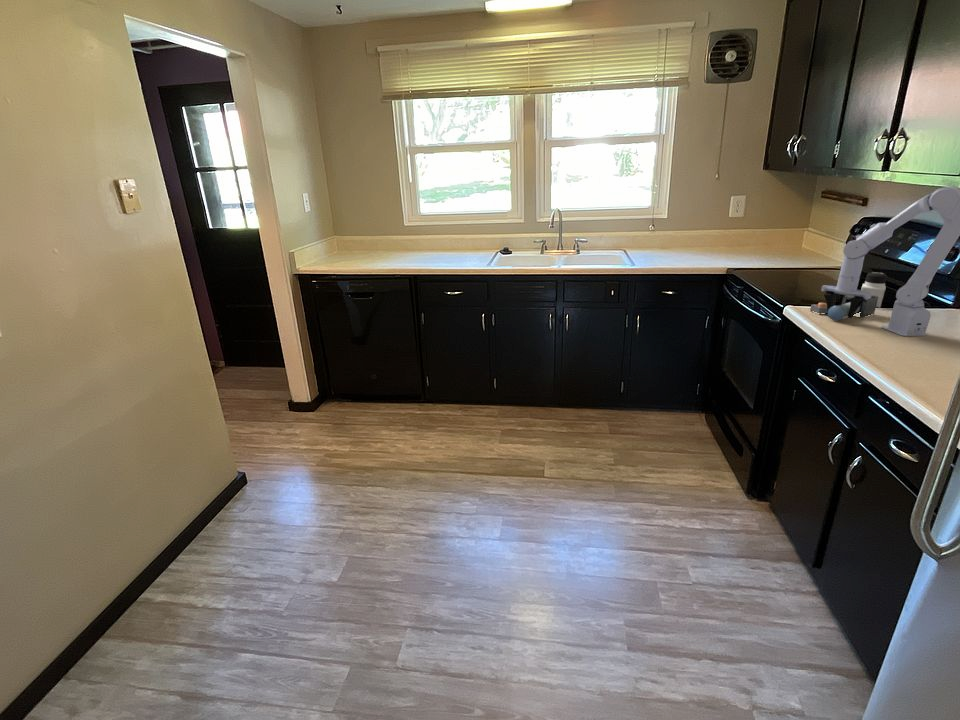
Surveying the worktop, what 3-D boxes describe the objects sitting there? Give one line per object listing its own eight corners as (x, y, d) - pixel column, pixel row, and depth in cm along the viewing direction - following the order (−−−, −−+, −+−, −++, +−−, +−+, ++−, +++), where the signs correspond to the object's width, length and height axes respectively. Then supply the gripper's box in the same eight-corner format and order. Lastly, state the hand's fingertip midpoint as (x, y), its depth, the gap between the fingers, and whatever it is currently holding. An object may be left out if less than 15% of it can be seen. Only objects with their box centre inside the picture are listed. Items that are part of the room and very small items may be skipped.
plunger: (826, 312, 184) (828, 304, 183) (819, 312, 184) (821, 304, 183) (822, 310, 186) (823, 302, 185) (815, 310, 186) (816, 302, 185)
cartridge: (847, 311, 184) (851, 298, 183) (863, 314, 180) (866, 301, 179) (826, 318, 177) (829, 304, 175) (841, 322, 173) (845, 307, 171)
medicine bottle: (880, 308, 190) (889, 276, 185) (857, 305, 194) (865, 273, 190) (881, 303, 195) (889, 272, 191) (858, 301, 199) (866, 270, 195)
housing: (850, 309, 188) (855, 292, 186) (873, 314, 182) (878, 296, 180) (839, 313, 184) (843, 296, 182) (862, 318, 178) (867, 300, 176)
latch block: (831, 314, 183) (833, 307, 182) (818, 314, 183) (820, 308, 182) (822, 310, 188) (824, 304, 187) (809, 310, 188) (811, 304, 187)
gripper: (879, 278, 167) (869, 318, 172) (832, 271, 179) (823, 308, 184) (869, 281, 164) (859, 321, 169) (821, 273, 176) (813, 311, 180)
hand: (839, 315), depth 176 cm, fingers open, 6 cm apart
